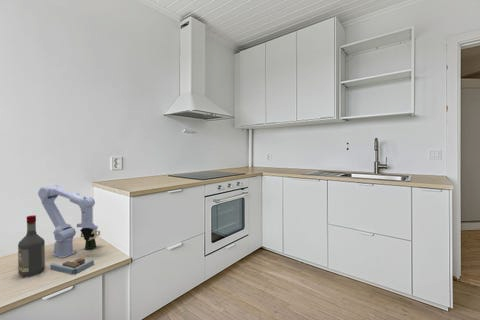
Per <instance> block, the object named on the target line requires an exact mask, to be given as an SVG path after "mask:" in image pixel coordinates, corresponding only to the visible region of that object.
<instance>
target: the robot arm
mask: <svg viewBox="0 0 480 320" xmlns="http://www.w3.org/2000/svg"><path fill="white" fill-rule="evenodd" d="M37 195H38V197H39V199H40V201H41V204H42V206H43V208H44V210H45V211H46V214H47V215H48V217H49V219H50V220H51V222H52V224H53V226H54V228H55V229H54V231H53V232H52V233H53V237H54V240H55V242H54V245H53V254H52V256H53V257H58V258H66V257H69V256H71V255H74V254H76V253H77V251H75V250H73V248H74V247H73V245H74V244H73V242H74V241H73V240H74V237H75V236H76V234H77V232H76V228H80V229H79V230H80V233H81V232H82V236H84V237H83V240H84V241H85V242H86V241H87V240H89V239H90V235H91V233H92V231H93V229H94V230H96V229H97V230H98V228H99V227H98V226H99V225H95V224H94V219H93V217H94V216H93V215H94V214H93V210H94V209H93V207H94V206H95V204H96V202H95V199H94V198H93V197H87V196H85V195H82V194H80V193H79V192H75V193H72V192H70V191H68V190H66V189H64V188H63V187H61V186H60V185H58V184H55V185H51V186H50V185H49V186H43V187H40V188H39V190H38V192H37ZM59 196H60V197H63V198H65V199H69V202H71V203H73V204H75V205H77V206H78V207H79V208H80V212H81V219H80V220H81V222H79V223H76V228H74V227H73V226H72V224H69V223H67V222H66V221H65V219H64V217H63V215H62V214H61V212H60V210H59V209H58V207H57V205H56V203H55V201H56V200H57V198H58V197H59Z"/></svg>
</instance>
